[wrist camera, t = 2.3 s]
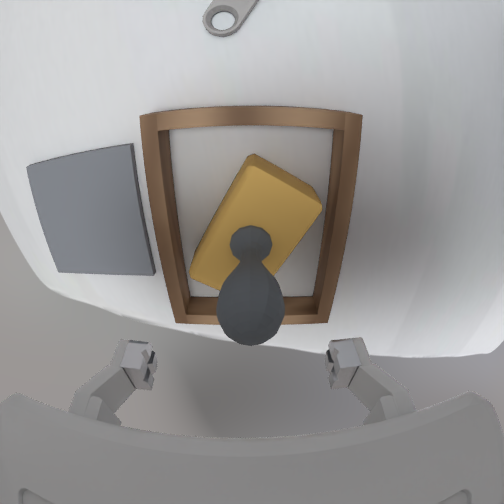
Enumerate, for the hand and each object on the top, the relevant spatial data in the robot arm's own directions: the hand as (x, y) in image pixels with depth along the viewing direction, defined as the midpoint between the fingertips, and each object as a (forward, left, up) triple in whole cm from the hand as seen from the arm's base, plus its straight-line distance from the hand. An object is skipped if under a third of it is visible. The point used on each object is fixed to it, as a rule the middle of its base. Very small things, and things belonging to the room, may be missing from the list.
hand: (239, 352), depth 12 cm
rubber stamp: (-1, 0, -13) cm, 13 cm away
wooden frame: (-1, 0, -12) cm, 12 cm away
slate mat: (+14, -1, -12) cm, 19 cm away
